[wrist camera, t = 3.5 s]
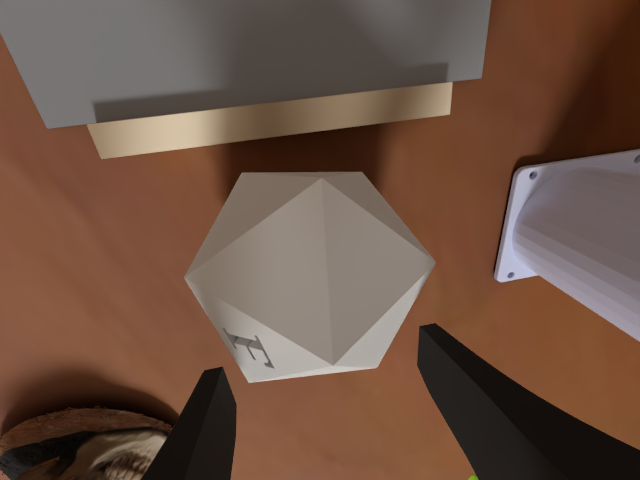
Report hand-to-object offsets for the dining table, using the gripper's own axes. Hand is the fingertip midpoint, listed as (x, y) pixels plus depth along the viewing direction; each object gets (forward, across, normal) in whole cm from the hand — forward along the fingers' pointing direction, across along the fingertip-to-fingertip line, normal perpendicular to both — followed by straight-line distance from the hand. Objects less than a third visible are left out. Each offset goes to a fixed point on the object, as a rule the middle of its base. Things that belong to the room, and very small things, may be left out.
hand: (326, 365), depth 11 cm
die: (+8, 0, -2) cm, 8 cm away
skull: (+10, +17, +10) cm, 22 cm away
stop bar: (+8, 0, -8) cm, 11 cm away
